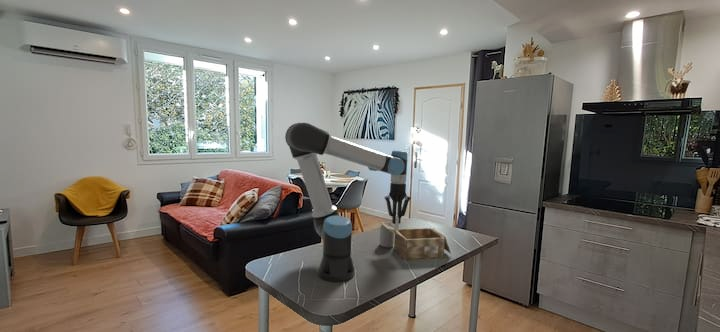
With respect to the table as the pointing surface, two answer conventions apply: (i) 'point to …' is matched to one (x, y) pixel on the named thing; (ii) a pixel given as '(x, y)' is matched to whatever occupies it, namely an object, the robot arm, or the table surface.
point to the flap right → (445, 242)
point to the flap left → (391, 229)
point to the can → (386, 236)
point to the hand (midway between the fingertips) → (395, 229)
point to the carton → (419, 244)
